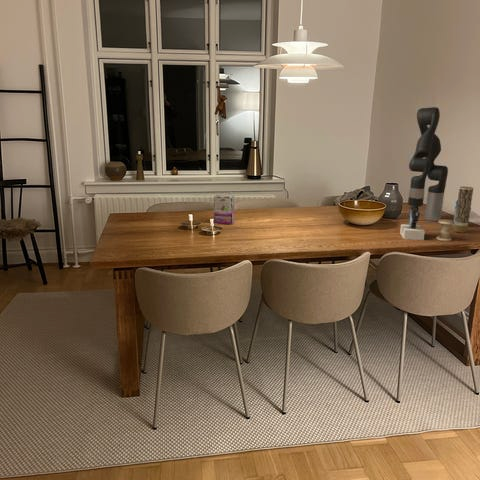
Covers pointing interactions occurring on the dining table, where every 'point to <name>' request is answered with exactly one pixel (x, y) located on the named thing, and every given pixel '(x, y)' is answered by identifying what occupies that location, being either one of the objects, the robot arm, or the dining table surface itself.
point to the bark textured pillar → (463, 209)
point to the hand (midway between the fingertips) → (412, 227)
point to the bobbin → (445, 230)
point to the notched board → (412, 232)
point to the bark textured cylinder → (456, 209)
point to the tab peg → (411, 221)
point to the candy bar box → (224, 209)
